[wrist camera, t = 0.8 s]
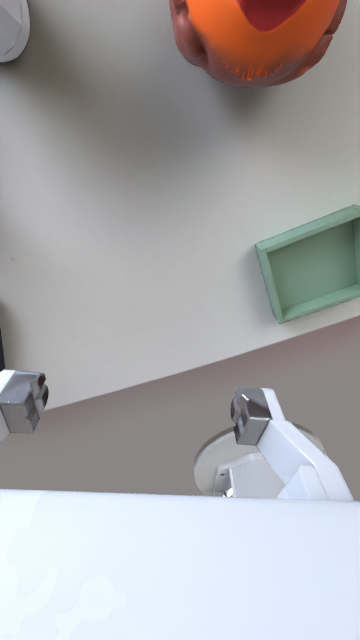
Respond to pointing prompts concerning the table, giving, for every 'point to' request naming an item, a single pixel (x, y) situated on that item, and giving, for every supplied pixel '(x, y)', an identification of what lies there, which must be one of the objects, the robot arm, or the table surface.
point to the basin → (312, 265)
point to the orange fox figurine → (255, 37)
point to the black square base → (1, 355)
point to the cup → (13, 28)
